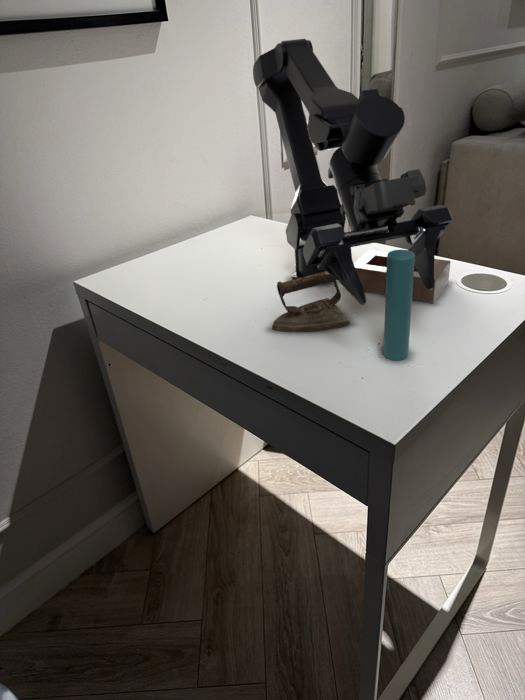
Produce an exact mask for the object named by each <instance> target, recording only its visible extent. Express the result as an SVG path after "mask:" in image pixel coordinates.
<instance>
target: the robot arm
mask: <svg viewBox="0 0 525 700" xmlns="http://www.w3.org/2000/svg"><path fill="white" fill-rule="evenodd" d="M252 77H253V82H254V85H255V87H256V88H258V92H259V94H260V97H261V100H262V102H263V103H264V104H265V105H266V106H268V108H270V109H271V110H272V111H273V112H274V114H275V117H276V122H277V126H278V129H279V133H280V137H281V141H282V144H283V148H284V152H285V153H284V154H285V156H286V161H287V164H288V168H289V172H290V176H291V179H292V183H293V187H294V192H295V194H294V197H293V200H292V203H291V207H290V218H289V220H288V223H287V225H286V228H285V236H286V242H287V243H288V245H290V246H291V247H292V248H293V249H294V261H295V272H294V273H293V274H291V280H294V279H298V278H302V277H306V276H310V275H314V274H317V273H321V272H325V271H327V272H328V273H329V274H330V275H332V276H333V277H334V278H335V279H336V281H337V282H338V283H339V284H340V285H342V286H343V288H344V289H346V291H347V292H348V293H349V294H350V295H351V296H352V297H353V298H354V299H355V300H356V301H357V302H358V304H359V305H360V306H363V305H365V304H366V303H367V298H366V292H364V289H363V287H362V284H361V282H360V279H359V276H358V274H357V271H356V269H355V266H354V263H355V262H354V261H353V253H352V248H354V247H360V246H365V245H370V244H375V243H380V242H386V241H392V240H395V239H402V238H405V241H406V243H408V244H409V245H410V246H409V248H408V249H407V250H409V251H412V252H414V254H415V263H414V265H415V267H416V269H417V271H418V273H419V276H420V278H421V280H422V282H423V284H424V285H425V287H426V288H427V290H428V291H429V290H431V289H433V288H434V259H435V257H436V256H435V254H436V246H437V242H438V240H439V238H440V237H441V236H443V234H444V233H445V232H446V231H447V229H448V228H449V227H450V226H451V225H452V224H454V222H455V220H454V217H453V215H452V213H451V210H450V208H449V207H448V206H446V205H443V204H438V205H432V206H427V207H421V208H418V209H416V211H415V212H414V213H413V215H412V216H411V217H410V219H409V220H405V221H399V222H398V221H397V219H398V218H402V216H403V215H404V213H405V210H404V208H405V207H407V206H415V205H416V199H419V198H422V197H424V196H425V195H426V193H427V184H426V180H425V177H424V176H423V174H422V171H421V169H420V168H417V169H412V170H407V171H406V172H403V173H401V174H400V177H399V178H393V179H388V178H383V179H382V177H381V174H380V171H379V169H378V165H379V164H380V163H381V162H383V161H384V159H385V158H386V157H387V155H388V154H389V152H390V150H391V148H392V146H393V145H394V143H395V142H396V139H397V138H398V136H399V135H400V133H401V131H402V129H403V128H404V126H405V120H406V119H405V118H406V117H405V112H404V109H403V108H402V107H401V106H399V105H398V104H397V102H395V101H394V100H393V99H390V98H389V97H387V96H383V95H381V93H380V91H379V89H378V88H369V89H363V90H362V89H361V91H360V93H359V94H360V95H359V96H358V97H357V96H356V95H354V93H353V92H350V91H347V90H344V89H341V88H339V87H338V86H337V85H336V84H335V82H334V80H333V79H332V78H331V76H330V75H329V73H328V72H327V71H326V69H325V67H324V66H323V64H322V63H321V62H320V59H319V58H318V57H317V55H316V54H315V53H314V47H313V43H312V41H311V40H310V39H306V38H298V39H288V40H281V42H278V43H277V44H276V45H275V46H274V47H273V48H271V49H270V50H268V51H266V52H265V53H263V54H261V55H259V56H258V58H257V59H256V60H255V62H254V63H253V66H252ZM304 107H305V109H306V111H307V112H308V120H307V116H306V112H305V109H304ZM315 148H316V150H317V151H319V152H324V151H331V150H335V151H334V152H333V153H332V154H331V157H330V160H329V162H328V166H329V167H328V169H327V178H328V179H333V180H334V184H335V185H334V184H329V185H328V184H327V183H326V182H325V181H324V180H323V178H322V174H321V170H320V165H319V162H318V159H317V155H316V154H317V153H316V151H315ZM346 221H347V223H348V226H349V228H350V231H345V226H346Z"/></svg>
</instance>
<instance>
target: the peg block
mask: <svg viewBox="0 0 525 700" xmlns="http://www.w3.org/2000/svg"><path fill="white" fill-rule="evenodd" d="M388 253H389V252H385V251H378V250H372V249H369V250H367V251H366V252H365V253H364V254H363V255H361V256H360V257H359V258H358V259H357V260H355V261H354V262H353V263H354V266H355V269H356V271H357V274H358V276H359V279H360V282H361V284H362V287H363V289H364V293H371V294H375V295H381V296H386V272H387V254H388ZM451 263H452V262H451V260H447V259H440V258H434V288H433V289H431V290H429V291H428V290H427V288H426V287H425V285H424V284H423V282H422V280H421V278H420V276H419V273H418V271H417V269H416V267H415V265H414V277H413V292H412V301H416V302H422V303H427V304H434V303H435V302H436V300H437V299H439V298H438V297H440V295H441V294H442V293H443V291H444V290H445V289H446V287H447V286H448V285H449V282H450V281H449V279H450V271H451V270H450V269H451Z"/></svg>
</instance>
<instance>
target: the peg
mask: <svg viewBox="0 0 525 700" xmlns="http://www.w3.org/2000/svg"><path fill="white" fill-rule="evenodd" d="M387 253H388V254H387V272H386V295H385V299H384V322H383V323H384V325H383V326H384V327H383V351H382V353H383V356H384V357H385V358H386V359H388V360H391V361H402V360H405V359H406V358H408V356H409V349H410V347H409V346H410V334H411V316H412V307H413V306H412V304H413V300H412V292H413V277H414V263H415V254H414V252H412V251H409V250H408V249H393V250H391V251H389V252H387Z"/></svg>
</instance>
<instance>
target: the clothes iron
mask: <svg viewBox="0 0 525 700" xmlns="http://www.w3.org/2000/svg"><path fill="white" fill-rule="evenodd" d="M329 283H332V284H333V286H334V289H335V294H334V295H333V296H332V297H330V298H329V297H326V298H321V299H318V300H315V301H311V302H308V303H306V304H302V305H299V306H297V305H286V302H285V299H284V296H285V295H287V294H291V293H294V292H299V291H302V290H306V289H311V288H314V287H318V286H322V285H326V284H329ZM276 290H277V292H278V296H279V298H280V302H281V304H282V305H283V308H284V309H285V310H286V312H284V313H283V314H280V315H279V316H277V317H276V319H275V320H274V321H273V324H272V325H271V329H272V330H274V331H279V332H288V333H289V332H290V333H293V332H294V333H301V332H305V333H306V332H315V331H316V332H317V331H324V330H331V329H336V328H341V327H342V328H343V327H347V326H349V325H350V324H351V321H350V319H349V318H348V317H347V316H346V315H345V313H344V312H343V311H342V310H341V309H340V308H339V306H337V305H336V304H338V303H339V302H340V300H342V293H341V291H340V288H339V284H338V281H337V280H336V279H335V278H334V277H333V276H332V275H330V274H329V273H328V272H327V271H325V272H321V273H317V274H314V275H310V276H306V277H302V278H298V279H290V280H287V281H281V280H280V281H277V282H276Z"/></svg>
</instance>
